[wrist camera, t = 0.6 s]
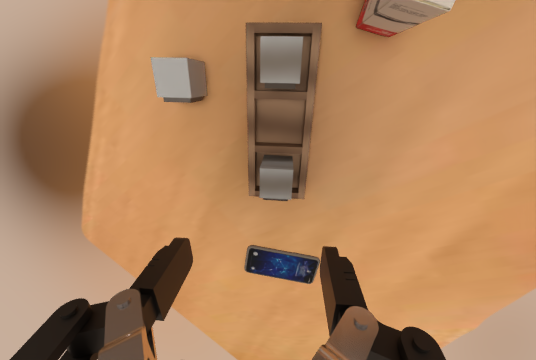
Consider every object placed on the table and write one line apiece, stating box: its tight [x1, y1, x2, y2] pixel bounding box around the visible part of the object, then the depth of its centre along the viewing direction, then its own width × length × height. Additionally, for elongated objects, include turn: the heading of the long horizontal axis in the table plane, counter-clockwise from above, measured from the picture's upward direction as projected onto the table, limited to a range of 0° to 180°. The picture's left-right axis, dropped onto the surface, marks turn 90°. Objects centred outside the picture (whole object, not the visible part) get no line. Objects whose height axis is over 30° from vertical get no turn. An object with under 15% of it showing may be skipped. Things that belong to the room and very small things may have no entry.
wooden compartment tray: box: [246, 23, 322, 201], centre depth 30 cm, size 24×9×8 cm, turn 179°
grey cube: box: [151, 57, 207, 103], centre depth 30 cm, size 5×4×6 cm
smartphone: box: [245, 245, 320, 284], centre depth 46 cm, size 7×1×15 cm
